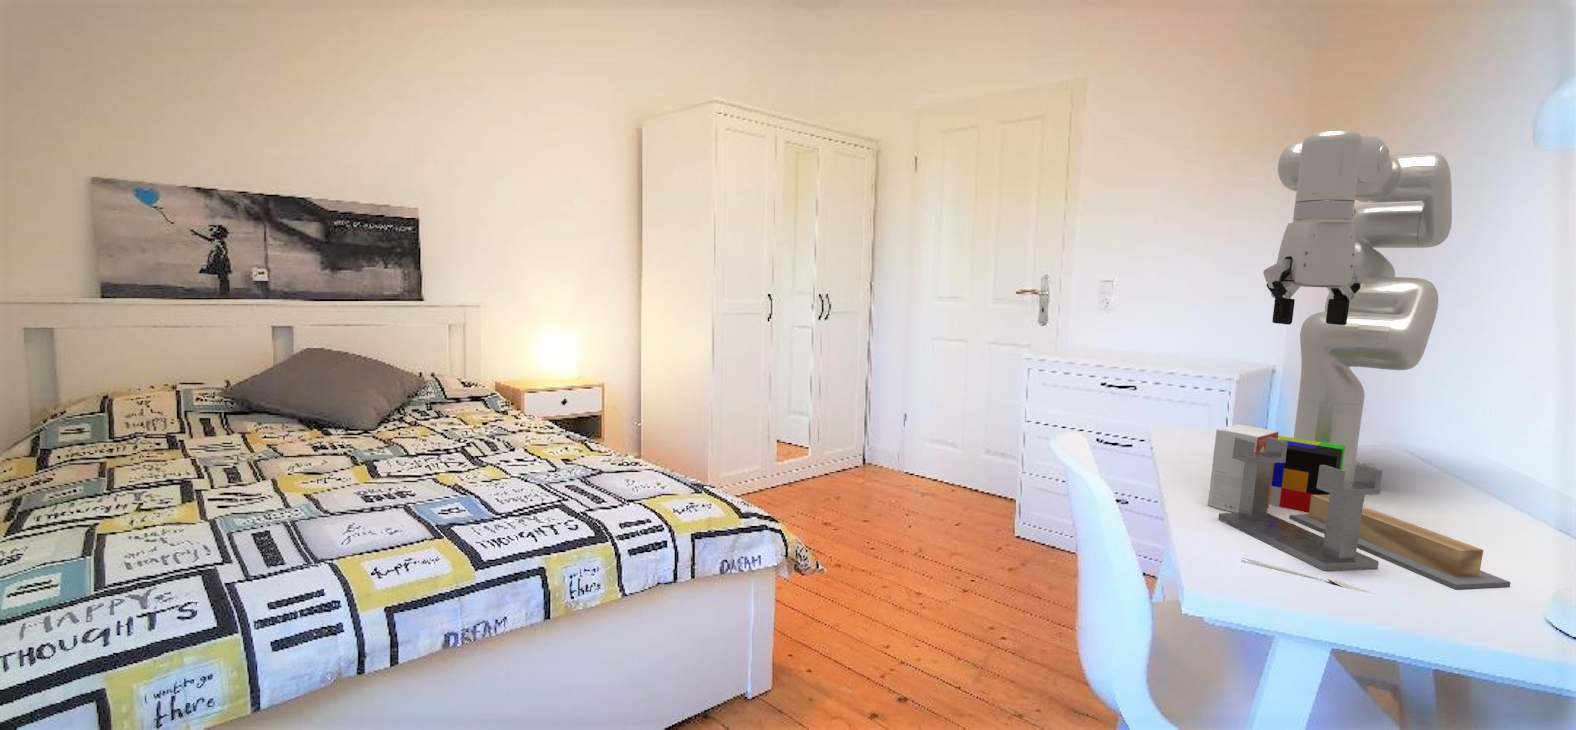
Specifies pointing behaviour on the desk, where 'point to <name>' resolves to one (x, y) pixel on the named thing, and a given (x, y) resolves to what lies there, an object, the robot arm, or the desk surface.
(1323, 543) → the rack
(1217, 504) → the small box
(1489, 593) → the desk surface
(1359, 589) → the silver long thin piece
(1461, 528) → the desk surface
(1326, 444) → the puzzle toy
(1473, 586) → the mat
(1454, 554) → the rail
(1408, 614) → the desk surface
